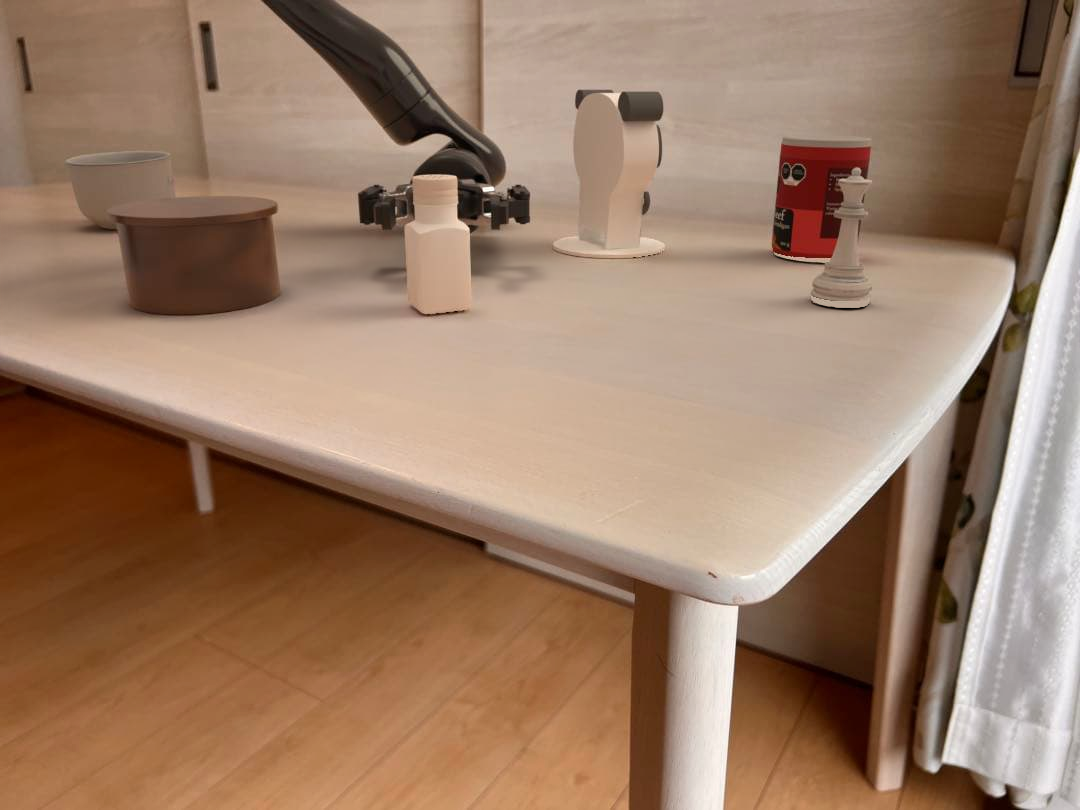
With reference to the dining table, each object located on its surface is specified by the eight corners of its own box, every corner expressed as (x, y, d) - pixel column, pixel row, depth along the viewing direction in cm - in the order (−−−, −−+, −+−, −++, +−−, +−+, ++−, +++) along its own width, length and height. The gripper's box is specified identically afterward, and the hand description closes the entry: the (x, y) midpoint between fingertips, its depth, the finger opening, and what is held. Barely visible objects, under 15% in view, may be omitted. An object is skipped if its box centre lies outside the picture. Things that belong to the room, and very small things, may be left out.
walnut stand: (167, 326, 59) (151, 223, 56) (96, 297, 67) (79, 206, 64) (316, 296, 67) (308, 205, 65) (238, 274, 75) (228, 192, 72)
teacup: (196, 225, 100) (186, 154, 97) (99, 237, 92) (86, 159, 89) (145, 213, 109) (135, 147, 106) (53, 223, 101) (39, 152, 98)
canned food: (776, 246, 88) (787, 134, 84) (858, 252, 85) (874, 136, 81) (764, 260, 81) (776, 138, 77) (853, 266, 78) (870, 141, 74)
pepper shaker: (406, 305, 65) (399, 175, 61) (456, 299, 66) (452, 172, 63) (421, 317, 61) (415, 180, 58) (474, 311, 63) (471, 178, 59)
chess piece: (799, 303, 65) (815, 167, 62) (824, 293, 68) (839, 163, 65) (856, 312, 63) (875, 171, 59) (878, 302, 66) (898, 167, 62)
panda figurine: (690, 254, 84) (700, 90, 78) (585, 263, 80) (588, 91, 74) (631, 235, 94) (637, 89, 89) (535, 242, 90) (535, 89, 85)
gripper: (374, 151, 80) (345, 166, 65) (526, 151, 81) (532, 166, 66) (379, 231, 83) (352, 264, 68) (526, 231, 84) (532, 264, 68)
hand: (440, 216), depth 67 cm, fingers open, 8 cm apart
